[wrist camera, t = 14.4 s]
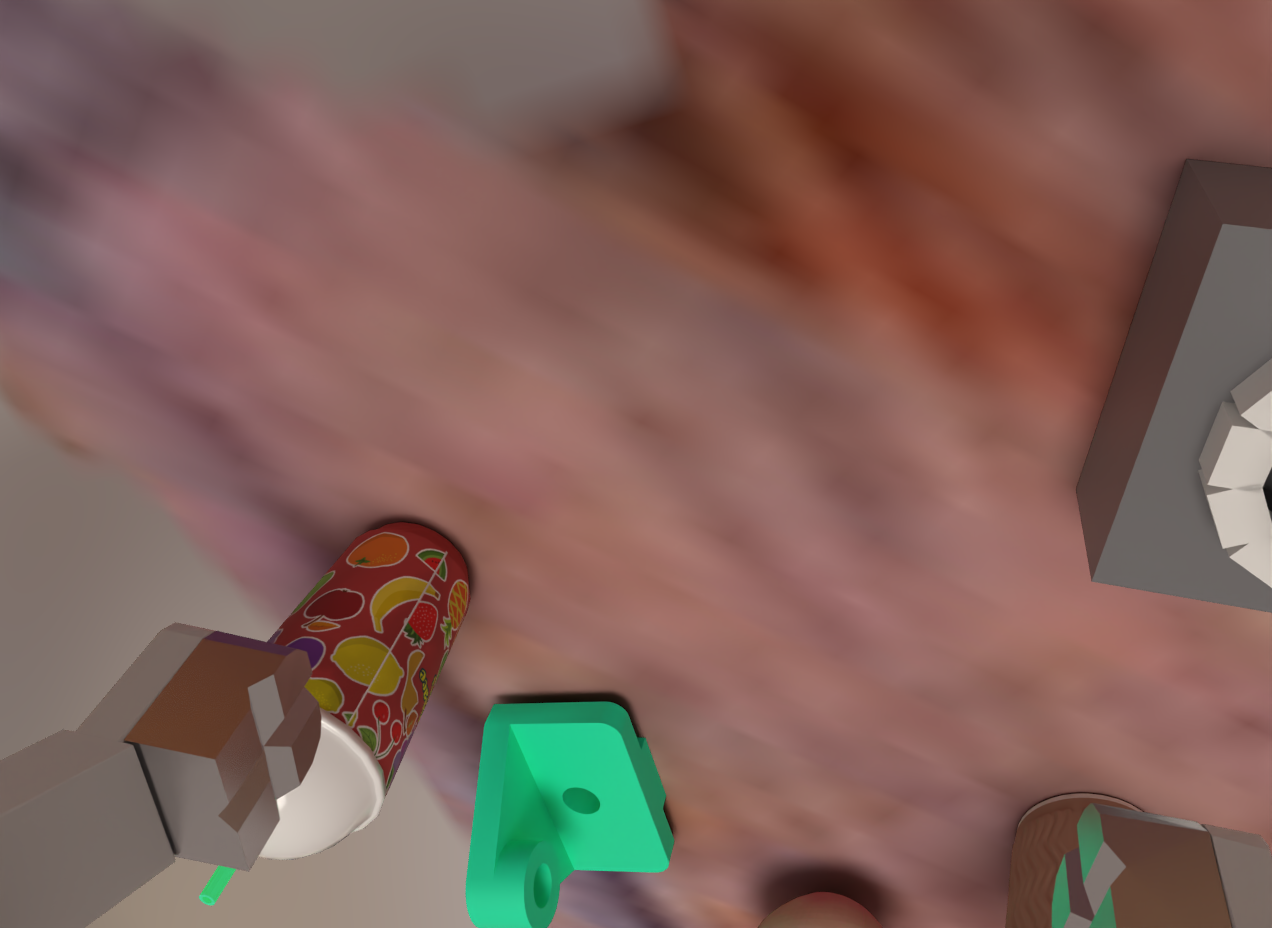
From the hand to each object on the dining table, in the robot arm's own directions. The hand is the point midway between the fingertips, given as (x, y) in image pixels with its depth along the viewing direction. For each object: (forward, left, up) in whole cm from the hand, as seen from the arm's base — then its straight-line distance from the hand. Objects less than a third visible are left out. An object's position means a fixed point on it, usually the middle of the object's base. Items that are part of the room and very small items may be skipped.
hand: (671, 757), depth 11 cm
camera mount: (+41, -9, -33) cm, 53 cm away
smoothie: (+28, -19, -33) cm, 47 cm away
